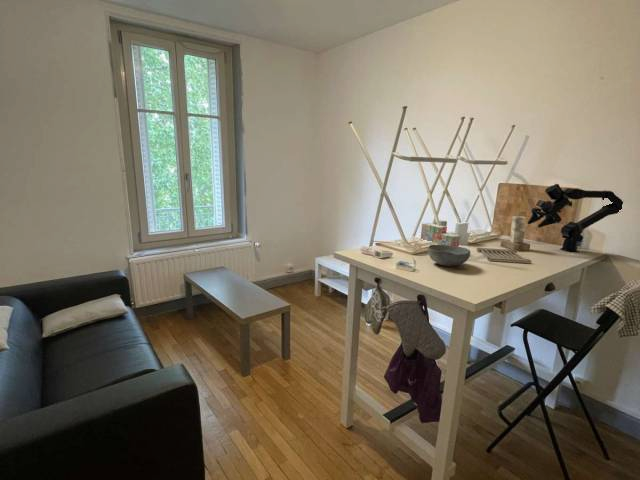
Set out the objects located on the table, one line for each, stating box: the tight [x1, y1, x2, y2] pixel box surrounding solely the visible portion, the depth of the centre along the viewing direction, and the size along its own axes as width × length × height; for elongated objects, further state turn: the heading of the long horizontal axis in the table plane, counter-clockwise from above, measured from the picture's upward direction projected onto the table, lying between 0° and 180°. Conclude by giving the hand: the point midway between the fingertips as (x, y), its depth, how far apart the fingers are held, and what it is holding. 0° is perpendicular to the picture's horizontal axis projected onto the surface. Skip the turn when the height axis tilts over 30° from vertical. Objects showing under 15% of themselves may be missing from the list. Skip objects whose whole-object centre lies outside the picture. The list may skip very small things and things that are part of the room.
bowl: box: [427, 245, 471, 267], centre depth 152 cm, size 18×18×8 cm
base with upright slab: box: [451, 221, 470, 246], centre depth 195 cm, size 9×9×12 cm
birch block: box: [509, 215, 527, 243], centre depth 186 cm, size 5×5×14 cm
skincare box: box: [433, 219, 448, 227], centre depth 199 cm, size 6×4×12 cm
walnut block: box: [500, 239, 531, 252], centre depth 188 cm, size 10×10×4 cm
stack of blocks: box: [420, 222, 460, 247], centre depth 180 cm, size 21×6×12 cm, turn 27°
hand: (532, 225), depth 185 cm, fingers open, 9 cm apart
